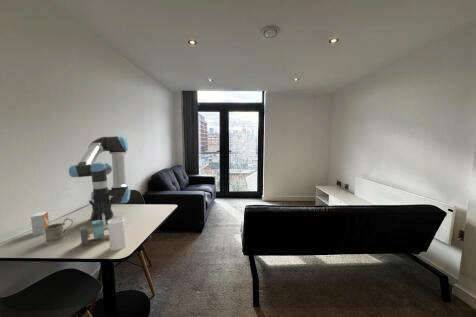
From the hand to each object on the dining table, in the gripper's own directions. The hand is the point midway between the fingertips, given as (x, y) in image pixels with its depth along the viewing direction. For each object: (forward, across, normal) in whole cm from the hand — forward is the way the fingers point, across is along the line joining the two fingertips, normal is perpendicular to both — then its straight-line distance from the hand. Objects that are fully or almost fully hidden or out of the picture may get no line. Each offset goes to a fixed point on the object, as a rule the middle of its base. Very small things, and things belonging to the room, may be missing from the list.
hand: (104, 224), depth 127 cm
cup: (+10, +4, -16) cm, 20 cm away
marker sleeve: (+6, -3, 0) cm, 7 cm away
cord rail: (+9, -2, 0) cm, 10 cm away
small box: (+10, -32, +41) cm, 53 cm away
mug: (+10, -22, +19) cm, 30 cm away
